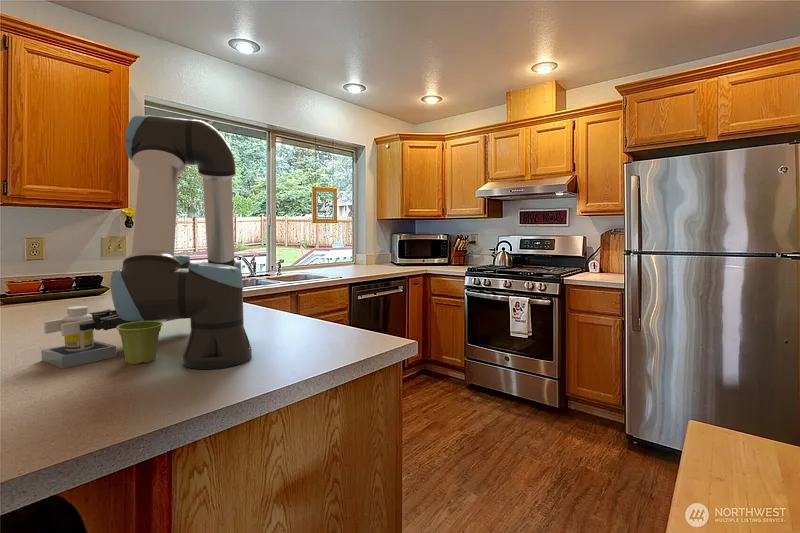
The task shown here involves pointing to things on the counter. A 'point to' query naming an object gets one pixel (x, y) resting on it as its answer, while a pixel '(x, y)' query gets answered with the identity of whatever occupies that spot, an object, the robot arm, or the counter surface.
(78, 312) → the supplement bottle
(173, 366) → the counter surface
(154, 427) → the counter surface
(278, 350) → the counter surface
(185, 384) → the counter surface
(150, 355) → the plant pot
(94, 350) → the dish
